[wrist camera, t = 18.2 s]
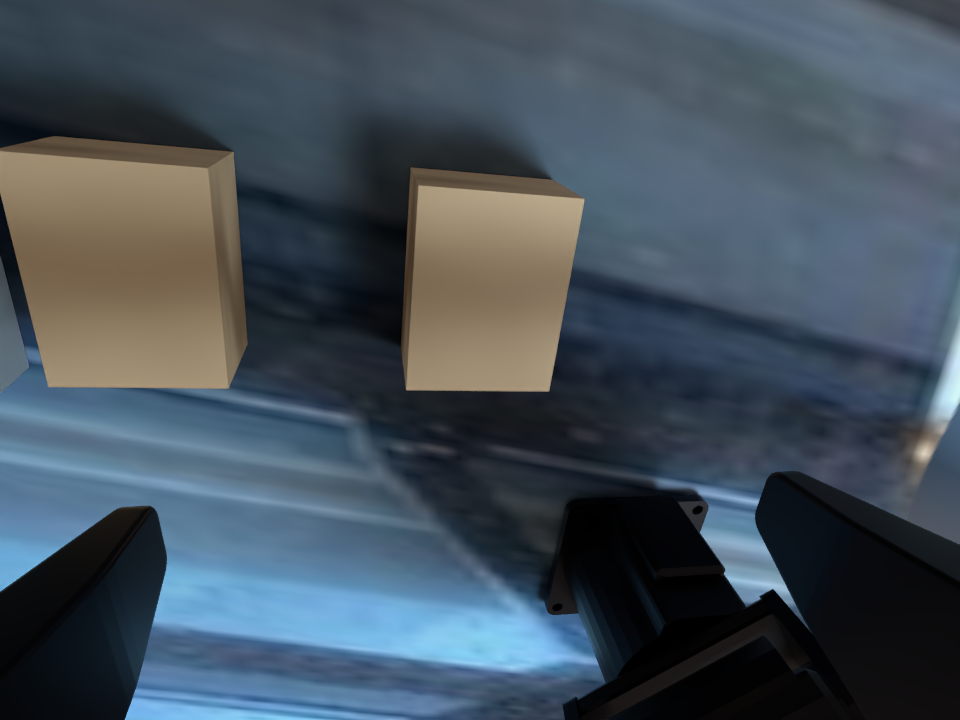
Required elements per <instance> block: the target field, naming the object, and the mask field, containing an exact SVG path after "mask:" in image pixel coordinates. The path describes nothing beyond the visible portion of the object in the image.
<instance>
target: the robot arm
mask: <svg viewBox="0 0 960 720" xmlns="http://www.w3.org/2000/svg"><path fill="white" fill-rule="evenodd" d="M577 510H580V511H579V512H576V511H577ZM707 511H708V504H707V503H706V501H705V500H704V499H703V497H701V496H699V495H683V496H651V497H618V498H586V499H574V500H572V501H570V502H569V503H568V504H567V505H566V508H565V511H564V516H563V520H562V525H561V530H560V534H559V539H558V543H557V548H556V552H555V557H554V561H553V566H552V570H551V575H550V579H549V584H548V588H547V593H546V597H545V606H546V609H547V611H548V613H549V614H552V615H561V614H575V613H579V615H580V617H581V620H582V623H583V625H584V628H585V630H586V633H587V635H588V638H589V641H590V643H591V646H592V648H593V651H594V653H595V656H596V659H597V661H598V664H599V666H600V669H601V671H602V674H603V677H604V679H605V682H606V683H605V684H604V685H602V686H600V687H598V688H596V689H594V690H593V691H591V692H589V693H587V694H585V695H583V696H582V697H580V698H577V697H574V698H572V699H570V700H569V701H567V702H565V703H563V710H564V716H565V720H960V544H957V543H955V542H953V541H951V540H949V539H946V538H944V537H942V536H940V535H938V534H935V533H933V532H931V531H929V530H927V529H924V528H922V527H920V526H918V525H915V524H913V523H911V522H909V521H907V520H905V519H902V518H900V517H898V516H896V515H894V514H891V513H889V512H887V511H885V510H882V509H880V508H878V507H876V506H874V505H871V504H869V503H867V502H865V501H863V500H860V499H858V498H856V497H854V496H852V495H849V494H847V493H845V492H843V491H841V490H838V489H836V488H834V487H832V486H830V485H827V484H825V483H823V482H821V481H819V480H816V479H814V478H812V477H810V476H808V475H805V474H803V473H801V472H797V471H786V472H775V473H772V474H771V475H770V476H769V477H768V478H767V481H766V483H765V486H764V489H763V492H762V495H761V498H760V501H759V503H758V506H757V509H756V513H755V521H756V526H757V528H758V531H759V533H760V535H761V537H762V539H763V541H764V543H765V545H766V547H767V549H768V551H769V553H770V555H771V557H772V558H773V560H774V562H775V564H776V566H777V568H778V570H779V572H780V574H781V576H782V578H783V580H784V582H785V584H786V586H787V588H788V590H789V592H790V594H791V596H792V598H793V600H794V602H795V604H796V606H797V608H798V610H799V611H800V613H801V615H802V617H803V619H804V620H805V622H806V624H807V625H808V627H809V629H810V630H811V632H812V633H811V632H810V631H809V630H808V629H807V627H806V626H805V625H804V624H803V623H802V622H801V621H800V619H799V618H798V617H797V616H796V615H795V614H794V613H793V611H792V610H791V609H790V608H789V607H788V606H787V604H786V603H785V602H784V601H783V600H782V599H781V598H780V596H779V595H778V594H777V593H776V592H775V591H774V590H773V589H772V590H770V591H768V592H766V593H764V594H763V595H761V596H760V598H761V599H759V600H758V601H756V602H754V603H752V604H750V605H748V606H746V605H745V604H744V602H743V601H742V599H741V598H740V596H739V595H738V594H737V592H736V591H735V589H734V588H733V587H732V585H731V584H730V582H729V581H728V579H727V578H726V577H725V575H724V572H725V568H724V566H723V565H722V563H721V562H720V560H719V559H718V558H717V556H716V555H715V553H714V552H713V551H712V549H711V548H710V546H709V545H708V544H707V542H706V541H705V539H704V538H703V537H702V535H701V534H700V531H701V528H702V525H703V522H704V519H705V517H706V514H707ZM575 512H576V513H575ZM166 564H167V555H166V549H165V544H164V540H163V536H162V531H161V527H160V522H159V518H158V514H157V512H156V510H155V509H154V508H153V507H151V506H135V507H122V508H118V509H116V510H115V511H113V512H111V513H110V514H109V515H107V516H106V517H104V518H103V519H102V520H100V521H99V522H97V523H96V524H95V525H93V526H92V527H90V528H89V529H88V530H86V531H85V532H83V533H82V534H81V535H79V536H78V537H76V538H75V539H74V540H72V541H71V542H69V543H68V544H67V545H65V546H64V547H62V548H61V549H60V550H58V551H57V552H55V553H54V554H52V555H51V556H50V557H48V558H47V559H45V560H44V561H43V562H41V563H40V564H38V565H37V566H36V567H34V568H33V569H31V570H30V571H29V572H27V573H26V574H24V575H23V576H22V577H20V578H19V579H17V580H16V581H15V582H13V583H12V584H10V585H9V586H8V587H6V588H5V589H3V590H2V591H1V592H0V720H125V717H126V715H127V712H128V709H129V707H130V704H131V701H132V698H133V695H134V692H135V689H136V686H137V682H138V679H139V675H140V671H141V668H142V664H143V660H144V656H145V652H146V648H147V644H148V640H149V636H150V632H151V628H152V624H153V620H154V616H155V612H156V608H157V604H158V600H159V596H160V592H161V588H162V584H163V579H164V575H165V571H166ZM813 635H814V636H813Z"/></svg>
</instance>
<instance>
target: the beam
mask: <svg viewBox="0 0 960 720" xmlns="http://www.w3.org/2000/svg"><path fill="white" fill-rule="evenodd" d="M0 194H1V198H2V202H3V206H4V210H5V214H6V218H7V222H8V226H9V230H10V234H11V238H12V242H13V246H14V250H15V254H16V258H17V262H18V266H19V270H20V274H21V278H22V282H23V286H24V291H25V295H26V299H27V303H28V307H29V311H30V315H31V319H32V323H33V327H34V331H35V335H36V339H37V343H38V347H39V351H40V355H41V359H42V363H43V367H44V371H45V375H46V379H47V383H48V387H105V388H214V389H229V386H230V384H231V382H232V379H233V377H234V375H235V372H236V370H237V368H238V365H239V363H240V361H241V358H242V356H243V354H244V351H245V349H246V347H247V344H248V342H247V328H246V314H245V301H244V287H243V274H242V260H241V247H240V233H239V219H238V206H237V192H236V179H235V165H234V152H230V151H219V150H207V149H196V148H184V147H173V146H162V145H150V144H139V143H127V142H116V141H105V140H93V139H82V138H70V137H59V136H52V137H48V138H43V139H39V140H34V141H30V142H25V143H21V144H16V145H12V146H7V147H3V148H0ZM584 200H585V199H584V198H582V197H581V196H579V195H577V194H576V193H574V192H572V191H571V190H569V189H567V188H566V187H564V186H562V185H561V184H559V183H558V182H556V181H554V180H549V179H538V178H527V177H515V176H504V175H492V174H481V173H470V172H458V171H447V170H435V169H424V168H412V167H411V170H410V188H409V207H408V225H407V244H406V262H405V281H404V299H403V318H402V336H401V352H402V360H403V369H404V377H405V385H406V390H433V391H543V392H549V389H550V384H551V379H552V373H553V368H554V362H555V357H556V352H557V346H558V341H559V335H560V330H561V324H562V319H563V314H564V308H565V303H566V297H567V292H568V286H569V281H570V276H571V270H572V265H573V259H574V254H575V249H576V243H577V238H578V232H579V227H580V221H581V216H582V211H583V205H584Z"/></svg>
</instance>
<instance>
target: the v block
mask: <svg viewBox="0 0 960 720" xmlns="http://www.w3.org/2000/svg"><path fill="white" fill-rule="evenodd" d="M28 368H29V364H28V360H27V356H26V352H25V348H24V344H23V340H22V337H21V333H20V329H19V325H18V321H17V317H16V314H15V310H14V306H13V302H12V298H11V294H10V291H9V287H8V283H7V279H6V275H5V271H4V268H3V264H2V260H1V256H0V393H1V392H3V391H4V390H5V389H6V388H7V387H8V386H9V385H10V384H12V383H13V382H14V381H15V380H16V379H17V378H18V377H19V376H21V375H22V374H23V373H24V372H25V371H26V370H27V369H28Z"/></svg>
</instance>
